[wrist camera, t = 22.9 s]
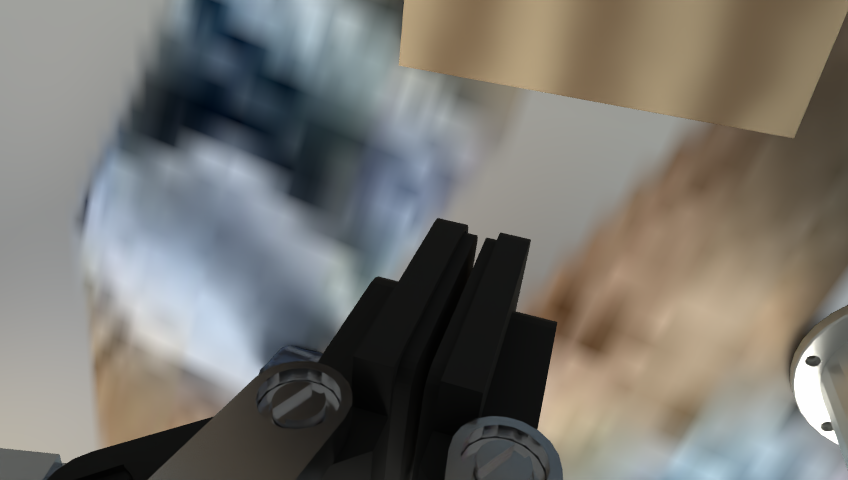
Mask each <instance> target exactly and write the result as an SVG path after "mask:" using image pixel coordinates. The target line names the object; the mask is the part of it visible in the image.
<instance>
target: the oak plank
mask: <svg viewBox="0 0 848 480" xmlns="http://www.w3.org/2000/svg"><path fill="white" fill-rule="evenodd" d="M847 12H848V0H404V10H403V22H402V34H401V47H400V59H399V66H405V67H410V68H415V69H421V70H426V71H432V72H437V73H443V74H448V75H453V76H459V77H464V78H470V79H475V80H480V81H486V82H491V83H497V84H502V85H508V86H513V87H518V88H524V89H529V90H535V91H540V92H545V93H551V94H557V95H562V96H567V97H572V98H579V99H584V100H589V101H594V102H600V103H605V104H611V105H616V106H621V107H627V108H632V109H638V110H643V111H648V112H654V113H659V114H665V115H670V116H675V117H681V118H686V119H692V120H697V121H702V122H708V123H713V124H719V125H724V126H730V127H735V128H740V129H746V130H751V131H757V132H762V133H767V134H773V135H778V136H784V137H789V138H794V137H795V135H796V132H797V130H798V128H799V125H800V123H801V121H802V118H803V116H804V113H805V111H806V109H807V106H808V104H809V102H810V99H811V97H812V95H813V92H814V90H815V87H816V85H817V83H818V80H819V78H820V76H821V73H822V71H823V68H824V66H825V64H826V61H827V59H828V57H829V54H830V52H831V50H832V47H833V45H834V42H835V40H836V38H837V35H838V33H839V31H840V28H841V26H842V23H843V21H844V19H845V16H846V14H847Z"/></svg>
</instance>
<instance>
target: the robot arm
mask: <svg viewBox="0 0 848 480" xmlns="http://www.w3.org/2000/svg"><path fill="white" fill-rule="evenodd" d="M477 238H478V237H477V235H473V234H469V233H468V225H466V224H461V223H456V222H453V221H448V220H444V219H440V218H437V219H436V221H435V222H434V224H433V226H432V227H431V229H430V231H429V232H428V234H427V236H426V237H425V239H424V240H423V242H422V244H421V245H420V247H419V249H418V250H417V252H416V254H415V255H414V257H413V259H412V260H411V262H410V264H409V265H408V267H407V269H406V270H405V272H404V273H403V275H402V277H401V278H400V280H399V282H398V281H394V280H390V279H386V278H382V277H376V278H374V280H373V281H372V282H371V283H370V285H369V286H368V288H367V289H366V291H365V292H364V294H363V295H362V297H361V298H360V300H359V301H358V303H357V304H356V306H355V307H354V309H353V310H352V311H351V313H350V314H349V316H348V317H347V319H346V320H345V322H344V323H343V325H342V326H341V328H340V329H339V331H338V332H337V334H336V335H335V337H334V338H333V340H332V341H331V343H330V344H329V346H328V347H327V349H326V350H325V352H324V353H323V355H322V356H321V357H320V359H319V360H318V362H312V361H293V362H287V363H281V364H279V365H276V366H274V367H271V368H268V369H267V370H265V371H264V372H262V373H261V374H260V375H258V376H257V377H255V378H254V379H253V380H252V381H251V382H250V383H249V384H248V385H247V386H246V387H245V388H244V389H243V390H242V391H241V392H240V393H238V394H237V395H236V396H235V397H234V398H233V399H232V400H231V401H230V402H229V403H228V404H227V405H226V406H225V407H224V408H223V409H222V410H221V411H219V412H218V413H217V414H216V415H215V416H214V417H211V418H207V419H204V420H200V421H197V422H194V423H190V424H187V425H183V426H180V427H176V428H173V429H169V430H166V431H162V432H159V433H155V434H152V435H148V436H145V437H141V438H138V439H134V440H131V441H127V442H124V443H120V444H117V445H114V446H110V447H107V448H103V449H100V450H96V451H93V452H90V453H88V454H85V455H82V456H80V457H77V458H75V459H73V460H71V461H70V462H68V463H62V462H61V458H60V455H59V454H51V453H41V452H32V451H22V450H13V449H3V448H0V480H563V473H562V466H561V462H560V458H559V454H558V453H557V451H556V450H555V448H554V447H553V445H552V443H551V442H550V441H549V440H548V439H547V438H546V437H545V436H544V435H543V434H542V433H541V432H539V431H538V430H537V428H538V423H539V418H540V412H541V407H542V402H543V396H544V391H545V386H546V380H547V375H548V370H549V364H550V359H551V354H552V348H553V343H554V337H555V332H556V326H557V322H555V321H551V320H547V319H543V318H539V317H535V316H531V315H527V314H523V313H520V312H516V307H517V302H518V298H519V293H520V288H521V284H522V279H523V274H524V270H525V265H526V261H527V256H528V252H529V247H530V242H531V240H530V239H526V238H521V237H517V236H513V235H508V234H504V233H500V234H499V236H498V239H497V240H494V239H490V238H486V239H485V242H484V244H483V246H482V249H481V251H480V253H479V255H478V258H477V260H476V263H475V265H474V267H473V264H474V258H475V252H476V246H477ZM790 384H791V388H792V392H793V396H794V399H795V401H796V404H797V406H798V409H799V411H800V412H801V414H802V415H803V416H804V418H805V419H806V421H807V422H808V423H809V424H810V425H811V426H812V427H813V428H814V429H815V430H816V431H817V432H818V433H820V434H821V435H823V436H824V437H826V438H828V439H829V440H831V441H832V442H834V443H836V444H838V445H839V447H840V450H841V453H842V456H843V459H844V461H845V464H846V467H847V470H848V305H847V306H845V307H843V308H841V309H839V310H837V311H835V312H833V313H831V314H830V315H829V316H827V317H826V318H825V319H823V320H822V321H821V322H819V323H818V324H817V325H815V326H814V327H813V329H812V330H811V331H810V332H809V333H808V334H807V335H806V336H805V337H804V338H803V340H802V341H801V343H800V345H799V346H798V348H797V350H796V351H795V354H794V357H793V360H792V363H791V367H790Z"/></svg>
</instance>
